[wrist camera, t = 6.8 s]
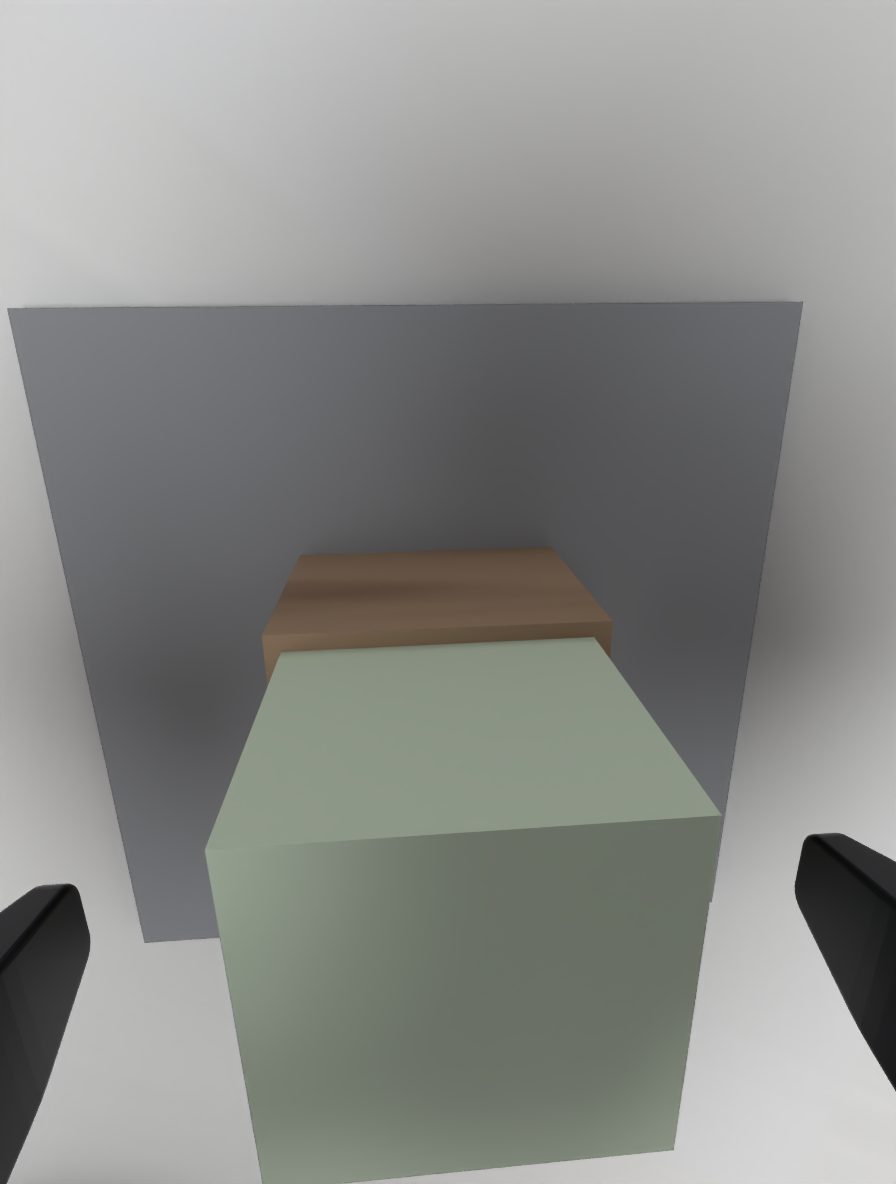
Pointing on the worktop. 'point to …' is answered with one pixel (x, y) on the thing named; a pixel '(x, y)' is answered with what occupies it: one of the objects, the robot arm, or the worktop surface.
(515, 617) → the walnut block
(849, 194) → the worktop surface
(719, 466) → the slate mat
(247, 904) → the sage block
